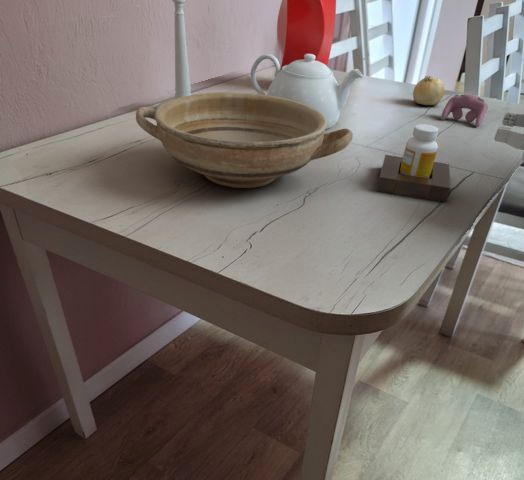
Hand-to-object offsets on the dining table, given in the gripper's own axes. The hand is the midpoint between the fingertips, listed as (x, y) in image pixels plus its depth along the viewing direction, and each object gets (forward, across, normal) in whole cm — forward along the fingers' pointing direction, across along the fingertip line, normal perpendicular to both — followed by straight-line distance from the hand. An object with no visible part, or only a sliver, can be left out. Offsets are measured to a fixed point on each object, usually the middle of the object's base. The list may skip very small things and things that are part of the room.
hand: (500, 125), depth 77 cm
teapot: (+43, +21, -13) cm, 50 cm away
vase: (+55, +50, -13) cm, 75 cm away
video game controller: (+11, +47, -13) cm, 49 cm away
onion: (+22, +56, -13) cm, 62 cm away
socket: (+11, 0, -12) cm, 16 cm away
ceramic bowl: (+39, -14, -12) cm, 43 cm away
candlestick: (+68, +11, -13) cm, 71 cm away
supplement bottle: (+11, 0, -12) cm, 16 cm away
